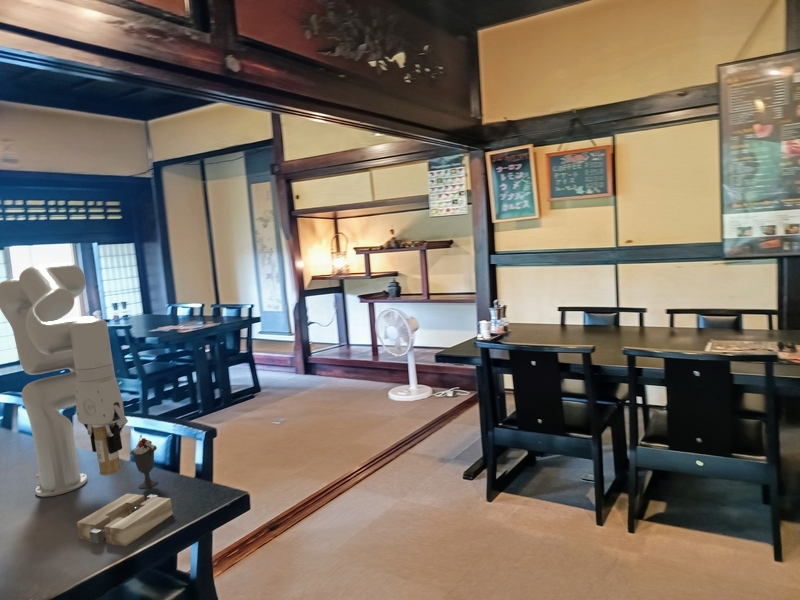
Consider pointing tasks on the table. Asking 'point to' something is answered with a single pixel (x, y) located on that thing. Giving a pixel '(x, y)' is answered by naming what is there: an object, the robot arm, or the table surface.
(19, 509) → the table surface
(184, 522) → the table surface
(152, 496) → the plunger
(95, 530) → the plunger
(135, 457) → the sundae
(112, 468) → the sprinkles bottle
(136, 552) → the table surface
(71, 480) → the robot arm
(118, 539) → the slotted wooden block
